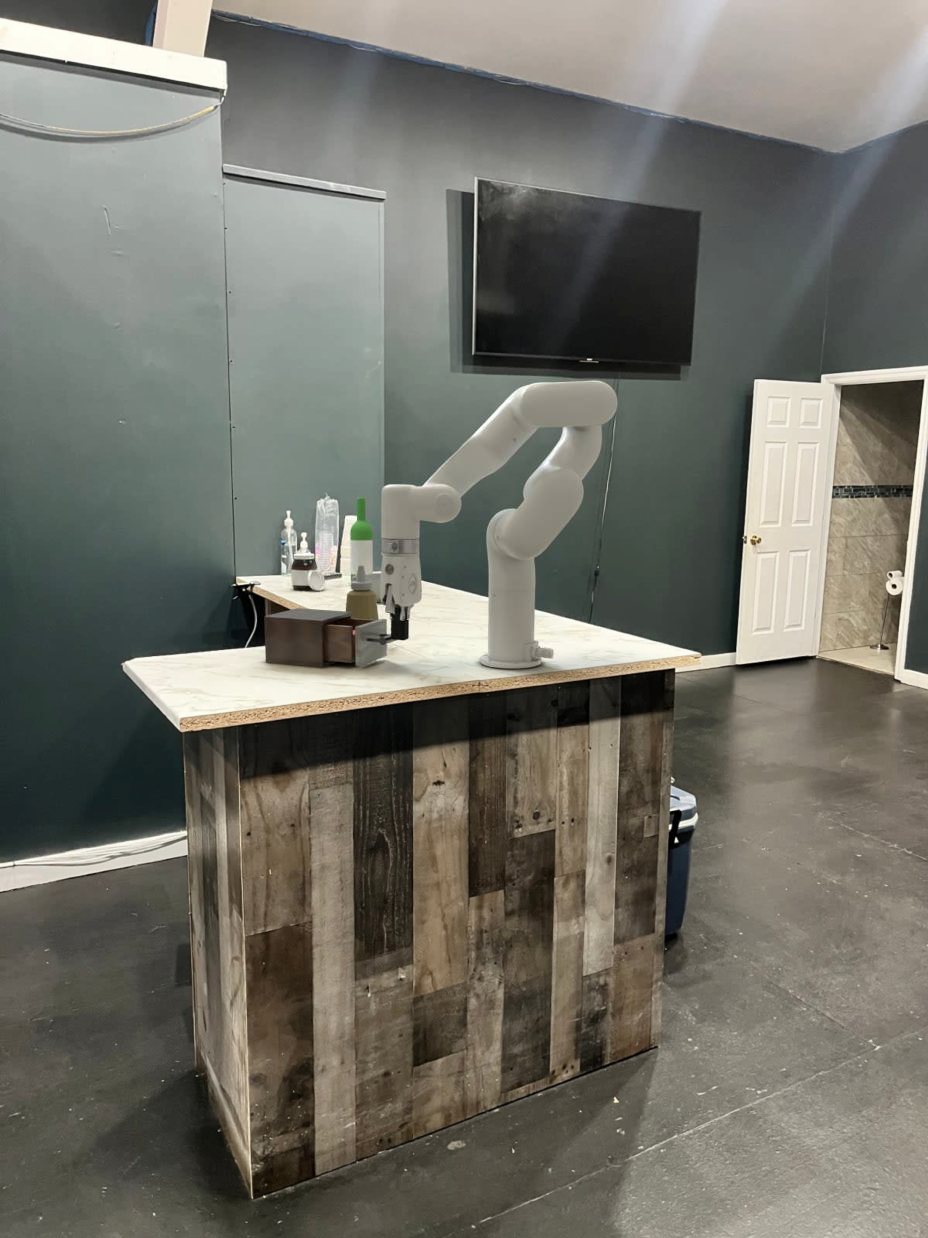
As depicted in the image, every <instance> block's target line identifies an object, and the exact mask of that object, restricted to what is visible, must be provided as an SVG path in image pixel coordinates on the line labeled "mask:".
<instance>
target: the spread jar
mask: <svg viewBox="0 0 928 1238" xmlns="http://www.w3.org/2000/svg"><path fill="white" fill-rule="evenodd" d="M290 569H291V571H290V573H291V575H290V576H291V586H292V587H291V588H292V589H293V590H295V591H315V592H319V591H322V590H323V589H324V588H325V586H326V580H325V579H326V578H325V576H324V574H323V573H322V572H321V571H320V570H318V565H317V562H316V560H315V553H294V554H293V561H292V564H291V567H290Z"/></svg>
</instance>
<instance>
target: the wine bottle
mask: <svg viewBox="0 0 928 1238" xmlns="http://www.w3.org/2000/svg"><path fill="white" fill-rule="evenodd" d="M349 535H350V536H349V537H350V539H349V540H350V541H349V542H350V544H349V547H350V548H349V550H350V551H349V552H350V555H349V556H350V583H351V582H352V578H353V576H355V575H357V571H358V566H364V569H365V574H370V573H374V558H373V557H374V555H373V554H374V553H373V552H374V550H373V547H374V546H373V544H374V543H373V542H374V541H373V529H372V526H371V524H369V522H367V520H366V497H357V498H356V521H355V522H354V523H353V524H352V525H351V527H350V533H349ZM355 581H356V579H355Z"/></svg>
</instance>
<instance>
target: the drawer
mask: <svg viewBox="0 0 928 1238" xmlns="http://www.w3.org/2000/svg"><path fill="white" fill-rule="evenodd" d="M353 630H355V653H356V656H353ZM396 641H397V640H393V639H391V633H388V619H387V618H379V620H376V621H374V620H372V619H358V618H342V619H339V620H335V621H332V622H328V623H325V624H324V660H325V661H336V663H348V664H352V663H355V666H356V667H362V666H364V665H368V664H370V663H373V662H374V661H377V660H379V659H382V658H385V657H387V656H388V644H390V643H393V642H396Z"/></svg>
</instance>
